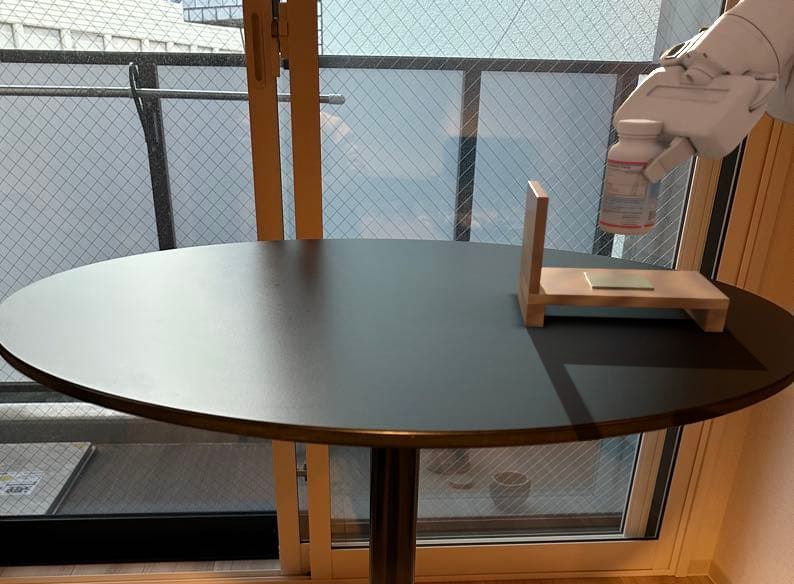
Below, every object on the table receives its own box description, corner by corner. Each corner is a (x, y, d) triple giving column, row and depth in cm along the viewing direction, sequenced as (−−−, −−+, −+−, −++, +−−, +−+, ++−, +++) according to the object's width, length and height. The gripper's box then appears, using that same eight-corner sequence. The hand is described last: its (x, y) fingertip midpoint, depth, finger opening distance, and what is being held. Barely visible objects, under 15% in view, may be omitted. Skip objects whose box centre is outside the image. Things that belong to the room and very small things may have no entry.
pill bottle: (628, 224, 96) (644, 118, 90) (663, 233, 91) (683, 122, 85) (587, 228, 93) (600, 119, 87) (621, 237, 89) (638, 123, 83)
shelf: (691, 303, 102) (714, 183, 95) (722, 335, 90) (751, 201, 83) (517, 298, 103) (527, 180, 96) (524, 329, 91) (537, 196, 84)
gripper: (803, 100, 79) (695, 209, 82) (686, 92, 96) (600, 183, 99) (776, 46, 76) (665, 162, 79) (660, 48, 93) (572, 143, 95)
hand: (628, 174), depth 89 cm, fingers closed on pill bottle, 6 cm apart
